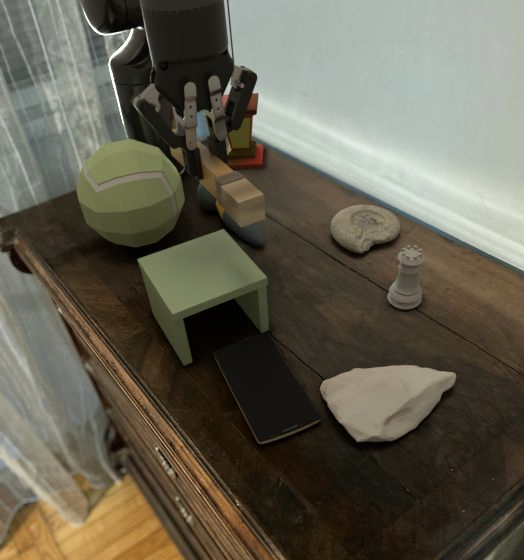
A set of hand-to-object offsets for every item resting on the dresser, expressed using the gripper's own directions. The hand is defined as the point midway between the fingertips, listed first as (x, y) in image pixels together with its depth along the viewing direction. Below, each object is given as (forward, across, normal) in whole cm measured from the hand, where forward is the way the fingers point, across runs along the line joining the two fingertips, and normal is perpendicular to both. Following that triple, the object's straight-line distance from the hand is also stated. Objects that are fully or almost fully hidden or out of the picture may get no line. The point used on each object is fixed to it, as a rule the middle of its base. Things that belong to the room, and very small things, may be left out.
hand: (208, 173), depth 62 cm
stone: (+20, +8, -25) cm, 33 cm away
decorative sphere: (+19, -4, +22) cm, 29 cm away
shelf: (+19, -4, -2) cm, 20 cm away
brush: (+1, 0, 0) cm, 1 cm away
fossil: (+19, +24, +2) cm, 31 cm away
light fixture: (+19, +21, +36) cm, 45 cm away
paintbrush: (+19, +10, +18) cm, 28 cm away
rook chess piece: (+19, +20, -12) cm, 31 cm away
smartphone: (+19, -3, -16) cm, 25 cm away
